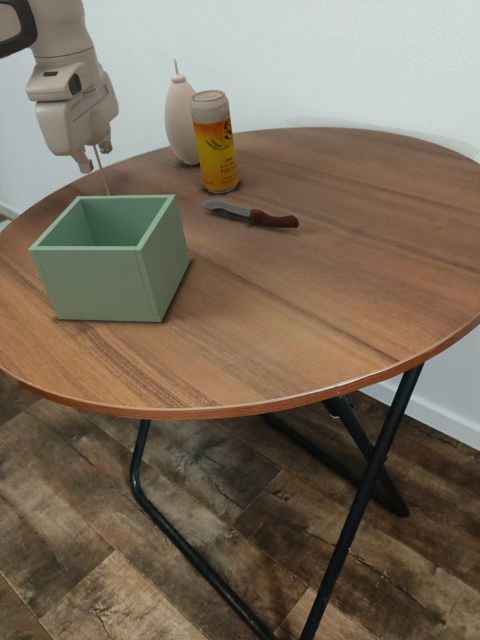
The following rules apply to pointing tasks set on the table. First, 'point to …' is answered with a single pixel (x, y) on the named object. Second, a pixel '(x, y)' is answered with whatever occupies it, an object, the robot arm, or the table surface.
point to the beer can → (214, 140)
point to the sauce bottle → (180, 119)
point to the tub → (113, 258)
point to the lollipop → (98, 137)
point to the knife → (249, 214)
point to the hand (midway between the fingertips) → (97, 161)
